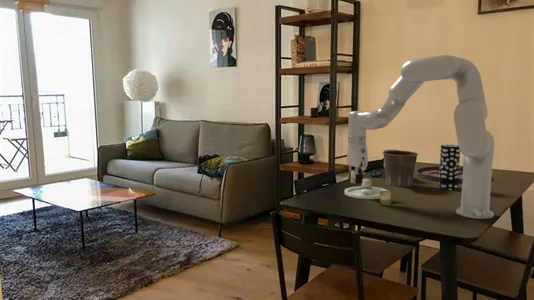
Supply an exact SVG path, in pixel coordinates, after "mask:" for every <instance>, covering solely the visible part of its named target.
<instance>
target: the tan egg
mask: <svg viewBox="0 0 534 300" xmlns="http://www.w3.org/2000/svg"><path fill="white" fill-rule="evenodd" d="M356 174H357V173H356V170H352V171H351V181H350V183H351V184H356V183H355V177H356ZM356 185H357V184H356Z"/></svg>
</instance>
